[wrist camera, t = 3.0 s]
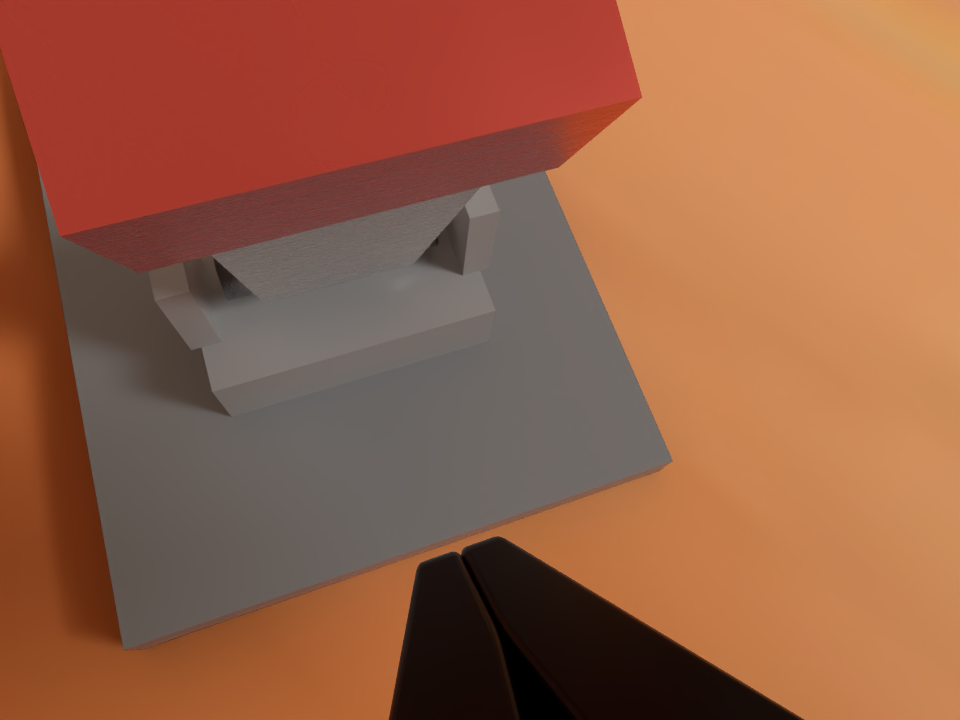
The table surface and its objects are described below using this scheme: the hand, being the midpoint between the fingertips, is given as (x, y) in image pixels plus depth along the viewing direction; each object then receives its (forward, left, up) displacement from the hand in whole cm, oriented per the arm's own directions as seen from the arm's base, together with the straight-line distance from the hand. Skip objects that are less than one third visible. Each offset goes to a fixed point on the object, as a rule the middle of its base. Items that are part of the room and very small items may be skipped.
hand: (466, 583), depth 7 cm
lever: (+7, +4, -6) cm, 10 cm away
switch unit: (+8, +4, -10) cm, 14 cm away
